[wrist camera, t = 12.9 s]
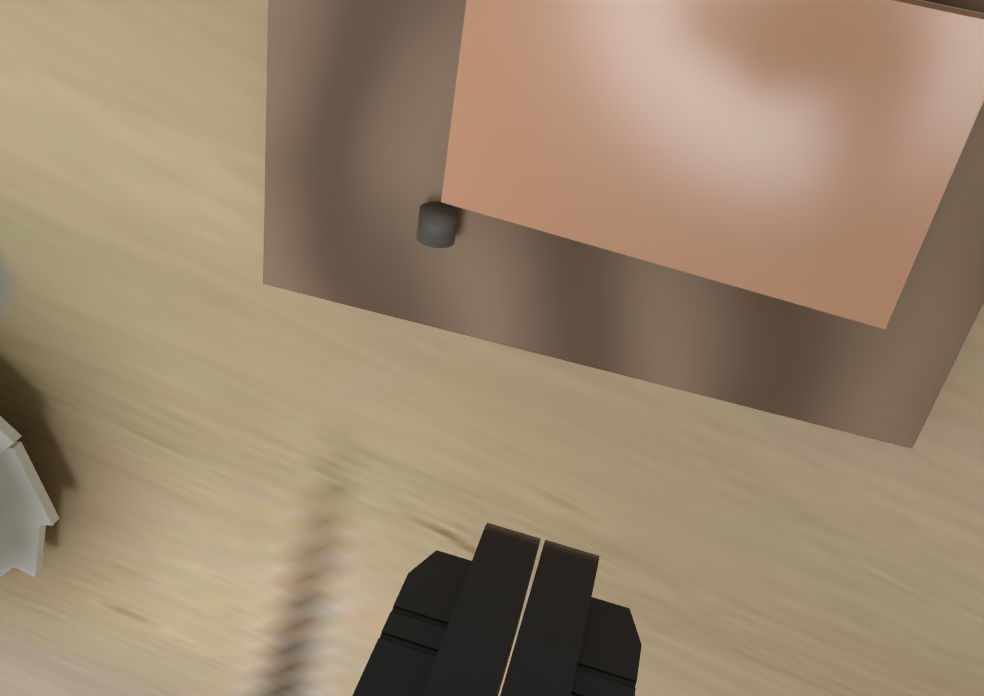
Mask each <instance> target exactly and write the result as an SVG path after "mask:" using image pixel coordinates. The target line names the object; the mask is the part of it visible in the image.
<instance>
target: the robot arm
mask: <svg viewBox="0 0 984 696" xmlns="http://www.w3.org/2000/svg"><path fill="white" fill-rule="evenodd" d="M539 543H540V538H536V537H533V536H530V535H526V534H523V533H520V532H516V531H513V530H510V529H506V528H503V527H499V526H496V525H493V524H489V523H487V524H486V526H485V529H484V531H483V534H482V536H481V539H480V541H479V544H478V547H477V549H476V552H475V555H474V557H473V560H472V561H470V560H467V559H463V558H460V557H457V556H454V555H450V554H447V553H444V552H440V551H437V550H436V551H435V552H434V553H433V554H431V555H430V556H429V557H428V558H427V559H425V560H424V561H423V562H422V563H420V564H419V565H418V566H417V567H416V568H414V569H413V570H412V571H411V572H409V573H408V575H407V578H406V580H405V582H404V584H403V586H402V588H401V591H400V593H399V595H398V597H397V599H396V602H395V604H394V607H393V610H392V612H391V613H390V615H389V617H388V619H387V621H386V623H385V626H384V628H383V630H382V633H381V636H380V639H378V641H377V643H376V645H375V648H374V650H373V652H372V654H371V656H370V659H369V661H368V663H367V665H366V667H365V669H364V672H363V674H362V676H361V678H360V680H359V683H358V685H357V687H356V689H355V691H354V694H353V696H498V694H499V690H500V687H501V683H502V680H503V676H504V673H505V670H506V666H507V663H508V659H509V656H510V652H511V649H512V645H513V641H514V638H515V634H516V630H517V627H518V623H519V619H520V616H521V612H522V608H523V604H524V600H525V597H526V593H527V589H528V585H529V581H530V578H531V574H532V570H533V566H534V562H535V559H536V555H537V551H538V547H539ZM598 561H599V556H598V555H594V554H591V553H588V552H584V551H581V550H578V549H574V548H571V547H568V546H564V545H561V544H557V543H554V542H551V541H547V540H545V543H544V546H543V550H542V553H541V557H540V560H539V563H538V567H537V570H536V574H535V577H534V581H533V584H532V588H531V591H530V595H529V598H528V602H527V605H526V608H525V612H524V615H523V619H522V622H521V626H520V629H519V633H518V636H517V640H516V643H515V647H514V650H513V654H512V657H511V660H510V664H509V667H508V671H507V674H506V678H505V681H504V685H503V688H502V692H501V695H500V696H635V689H636V688H635V685H636V681H637V674H638V667H639V660H640V652H641V642H640V639H639V636H638V633H637V630H636V627H635V624H634V621H633V618H632V615H631V612H630V609H629V608H626V607H623V606H619V605H616V604H613V603H609V602H606V601H603V600H599V599H596V598H593V597H591V595H592V591H593V586H594V581H595V576H596V571H597V567H598Z"/></svg>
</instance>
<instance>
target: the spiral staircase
mask: <svg viewBox="0 0 984 696" xmlns="http://www.w3.org/2000/svg"><path fill="white" fill-rule="evenodd" d="M20 437H21V435H20V434H19V433H18V432H17V431H16V430H15V429H14V428H13V427H12V426H11V425H9V424H8V423H7V422H6V421H5V420H4V419H3V418H2V417H1V416H0V577H1V576H2V575H3V574H5V573H6V572H8V571H9V570H10V569H12V568H15V569H18V570H20V571H22V572H24V573H27V574H29V575H31V576H33V577H36V576H37V575H38V574H39V573H40V572H41V570H42V563H43V552H44V541H45V530H46V526H53V525H54V524H55V522H56V521H57V520H58V519H59V516H58V514H57V512H56V510H55V508H54V506H53V504H52V502H51V500H50V498H49V496H48V494H47V492H46V490H45V488H44V486H43V484H42V482H41V480H40V478H39V476H38V474H37V472H36V470H35V468H34V466H33V464H32V462H31V460H30V458H29V456H28V454H27V452H26V450H25V448H24V446H23V444H22V442H21V441H20V442H16V441H17V440H18V439H19V438H20Z"/></svg>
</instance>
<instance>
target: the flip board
mask: <svg viewBox="0 0 984 696" xmlns="http://www.w3.org/2000/svg"><path fill="white" fill-rule="evenodd" d="M924 1H928V2H933V3H938V4H943V5H947V6H952V7H957V8H962V9H966V10H971V11H976V12H981V13H984V0H924ZM465 8H466V0H268V53H267V107H266V160H265V214H264V267H263V284H267V285H271V286H274V287H278V288H282V289H286V290H290V291H294V292H298V293H302V294H306V295H310V296H314V297H318V298H322V299H326V300H330V301H334V302H337V303H341V304H345V305H349V306H353V307H357V308H361V309H365V310H369V311H373V312H377V313H381V314H385V315H389V316H393V317H396V318H400V319H404V320H408V321H412V322H416V323H420V324H424V325H428V326H432V327H436V328H440V329H444V330H448V331H452V332H455V333H459V334H463V335H467V336H471V337H475V338H479V339H483V340H487V341H491V342H495V343H499V344H503V345H507V346H511V347H514V348H518V349H522V350H526V351H530V352H534V353H538V354H542V355H546V356H550V357H554V358H558V359H562V360H566V361H570V362H573V363H577V364H581V365H585V366H589V367H593V368H597V369H601V370H605V371H609V372H613V373H617V374H621V375H625V376H629V377H632V378H636V379H640V380H644V381H648V382H652V383H656V384H660V385H664V386H668V387H672V388H676V389H680V390H684V391H688V392H691V393H695V394H699V395H703V396H707V397H711V398H715V399H719V400H723V401H727V402H731V403H735V404H739V405H743V406H747V407H750V408H754V409H758V410H762V411H766V412H770V413H774V414H778V415H782V416H786V417H790V418H794V419H798V420H802V421H806V422H810V423H813V424H817V425H821V426H825V427H829V428H833V429H837V430H841V431H845V432H849V433H853V434H857V435H861V436H865V437H869V438H872V439H876V440H880V441H884V442H888V443H892V444H896V445H900V446H904V447H908V448H913V446H914V444H915V442H916V440H917V437H918V435H919V433H920V431H921V429H922V427H923V425H924V423H925V421H926V419H927V417H928V415H929V413H930V411H931V409H932V407H933V405H934V403H935V401H936V398H937V396H938V394H939V392H940V390H941V388H942V386H943V384H944V382H945V380H946V378H947V376H948V374H949V372H950V370H951V368H952V366H953V364H954V362H955V359H956V357H957V355H958V353H959V351H960V349H961V347H962V345H963V343H964V341H965V339H966V337H967V335H968V333H969V331H970V329H971V327H972V325H973V323H974V320H975V318H976V316H977V314H978V312H979V310H980V308H981V306H982V304H983V302H984V101H983V104H982V106H981V108H980V111H979V113H978V115H977V118H976V120H975V122H974V125H973V127H972V129H971V131H970V134H969V136H968V138H967V141H966V143H965V145H964V148H963V150H962V152H961V155H960V157H959V159H958V162H957V164H956V166H955V169H954V171H953V173H952V176H951V178H950V180H949V183H948V185H947V187H946V189H945V192H944V194H943V196H942V199H941V201H940V203H939V206H938V208H937V210H936V213H935V215H934V217H933V220H932V222H931V224H930V227H929V229H928V231H927V234H926V236H925V238H924V241H923V243H922V245H921V247H920V250H919V252H918V254H917V257H916V259H915V261H914V264H913V266H912V268H911V271H910V273H909V275H908V278H907V280H906V282H905V285H904V287H903V289H902V292H901V294H900V296H899V299H898V301H897V303H896V306H895V308H894V310H893V312H892V315H891V317H890V319H889V322H888V324H887V326H886V329H882V328H879V327H875V326H872V325H868V324H865V323H861V322H858V321H854V320H851V319H847V318H844V317H840V316H837V315H833V314H830V313H826V312H823V311H819V310H816V309H812V308H809V307H805V306H802V305H798V304H795V303H791V302H788V301H784V300H781V299H777V298H774V297H770V296H767V295H763V294H760V293H756V292H753V291H749V290H746V289H742V288H739V287H735V286H732V285H728V284H725V283H721V282H718V281H714V280H711V279H707V278H704V277H700V276H697V275H693V274H690V273H686V272H683V271H679V270H676V269H673V268H669V267H666V266H662V265H659V264H655V263H652V262H648V261H645V260H641V259H638V258H634V257H631V256H627V255H624V254H620V253H617V252H613V251H610V250H606V249H603V248H599V247H596V246H592V245H589V244H585V243H582V242H578V241H575V240H571V239H568V238H564V237H561V236H557V235H554V234H550V233H547V232H543V231H540V230H536V229H533V228H529V227H526V226H522V225H519V224H515V223H512V222H508V221H505V220H501V219H498V218H494V217H491V216H487V215H484V214H480V213H477V212H473V211H470V210H466V209H463V208H460V207H456V206H453V205H449V204H446V203H442V202H441V198H442V190H443V182H444V174H445V166H446V158H447V150H448V142H449V134H450V127H451V119H452V111H453V103H454V95H455V87H456V79H457V71H458V63H459V55H460V47H461V39H462V31H463V24H464V16H465Z"/></svg>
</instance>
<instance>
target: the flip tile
mask: <svg viewBox="0 0 984 696" xmlns="http://www.w3.org/2000/svg"><path fill="white" fill-rule="evenodd" d="M983 101H984V13H981V12H976V11H971V10H966V9H962V8H957V7H952V6H947V5H943V4H938V3H933V2H928V1H924V0H466V8H465V16H464V24H463V31H462V39H461V47H460V55H459V63H458V71H457V79H456V87H455V95H454V103H453V111H452V119H451V127H450V134H449V142H448V150H447V158H446V166H445V174H444V182H443V190H442V198H441V202H442V203H446V204H449V205H453V206H456V207H460V208H463V209H466V210H470V211H473V212H477V213H480V214H484V215H487V216H491V217H494V218H498V219H501V220H505V221H508V222H512V223H515V224H519V225H522V226H526V227H529V228H533V229H536V230H540V231H543V232H547V233H550V234H554V235H557V236H561V237H564V238H568V239H571V240H575V241H578V242H582V243H585V244H589V245H592V246H596V247H599V248H603V249H606V250H610V251H613V252H617V253H620V254H624V255H627V256H631V257H634V258H638V259H641V260H645V261H648V262H652V263H655V264H659V265H662V266H666V267H669V268H673V269H676V270H679V271H683V272H686V273H690V274H693V275H697V276H700V277H704V278H707V279H711V280H714V281H718V282H721V283H725V284H728V285H732V286H735V287H739V288H742V289H746V290H749V291H753V292H756V293H760V294H763V295H767V296H770V297H774V298H777V299H781V300H784V301H788V302H791V303H795V304H798V305H802V306H805V307H809V308H812V309H816V310H819V311H823V312H826V313H830V314H833V315H837V316H840V317H844V318H847V319H851V320H854V321H858V322H861V323H865V324H868V325H872V326H875V327H879V328H882V329H886V326H887V324H888V322H889V319H890V317H891V315H892V312H893V310H894V308H895V306H896V303H897V301H898V299H899V296H900V294H901V292H902V289H903V287H904V285H905V282H906V280H907V278H908V275H909V273H910V271H911V268H912V266H913V264H914V261H915V259H916V257H917V254H918V252H919V250H920V247H921V245H922V243H923V241H924V238H925V236H926V234H927V231H928V229H929V227H930V224H931V222H932V220H933V217H934V215H935V213H936V210H937V208H938V206H939V203H940V201H941V199H942V196H943V194H944V192H945V189H946V187H947V185H948V183H949V180H950V178H951V176H952V173H953V171H954V169H955V166H956V164H957V162H958V159H959V157H960V155H961V152H962V150H963V148H964V145H965V143H966V141H967V138H968V136H969V134H970V131H971V129H972V127H973V125H974V122H975V120H976V118H977V115H978V113H979V111H980V108H981V106H982V104H983Z"/></svg>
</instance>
